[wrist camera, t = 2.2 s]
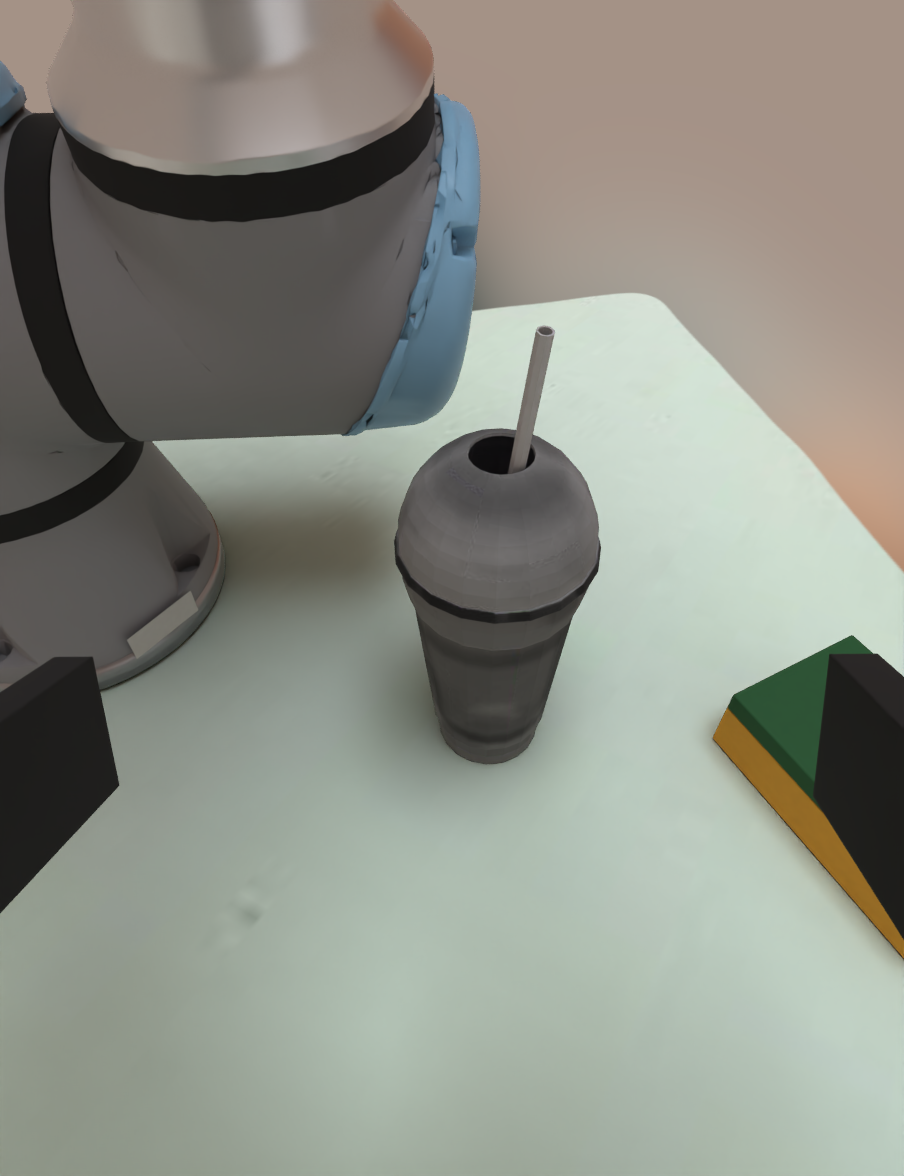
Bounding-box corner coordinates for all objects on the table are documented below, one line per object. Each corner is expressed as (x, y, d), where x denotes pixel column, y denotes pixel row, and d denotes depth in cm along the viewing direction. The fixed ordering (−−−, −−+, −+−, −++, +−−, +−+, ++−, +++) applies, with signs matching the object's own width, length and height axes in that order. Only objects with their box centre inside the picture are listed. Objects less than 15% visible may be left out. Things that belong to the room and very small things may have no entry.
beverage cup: (474, 634, 38) (484, 235, 24) (596, 710, 35) (696, 305, 20) (377, 730, 35) (315, 326, 20) (503, 825, 31) (542, 430, 17)
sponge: (711, 737, 34) (732, 694, 32) (824, 679, 36) (852, 633, 34) (911, 968, 28) (959, 937, 25) (1034, 880, 30) (1090, 843, 27)
